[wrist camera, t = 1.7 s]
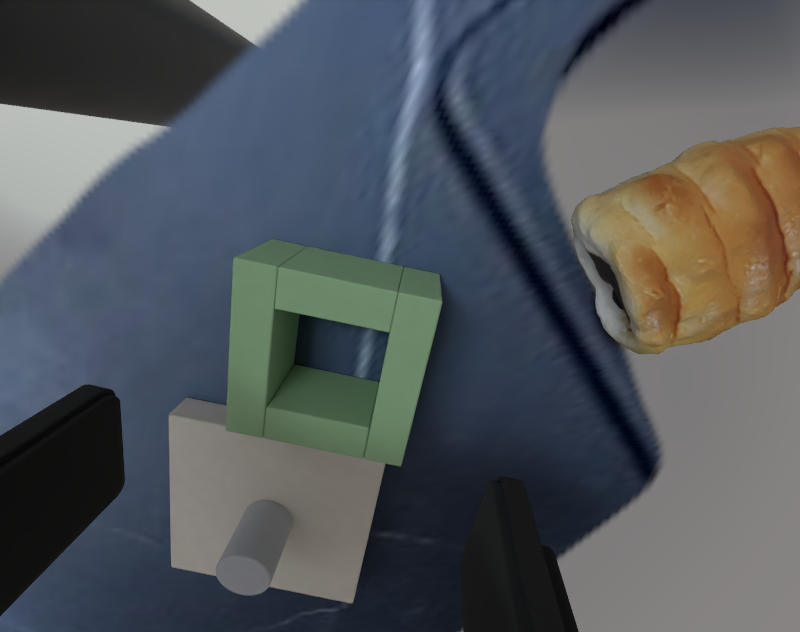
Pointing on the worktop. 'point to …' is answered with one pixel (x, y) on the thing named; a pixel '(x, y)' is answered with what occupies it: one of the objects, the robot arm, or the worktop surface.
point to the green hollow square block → (317, 389)
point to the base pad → (273, 476)
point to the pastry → (695, 241)
